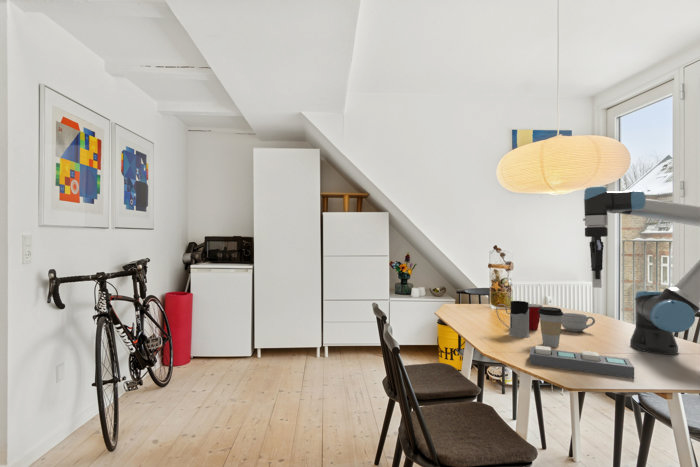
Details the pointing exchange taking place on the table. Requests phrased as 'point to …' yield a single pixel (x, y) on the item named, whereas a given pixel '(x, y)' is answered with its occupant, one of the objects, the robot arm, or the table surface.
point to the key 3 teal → (566, 355)
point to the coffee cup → (550, 325)
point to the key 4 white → (543, 350)
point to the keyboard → (582, 363)
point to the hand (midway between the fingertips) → (597, 287)
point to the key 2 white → (590, 355)
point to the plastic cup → (534, 316)
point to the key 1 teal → (615, 361)
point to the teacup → (575, 322)
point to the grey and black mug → (518, 319)
